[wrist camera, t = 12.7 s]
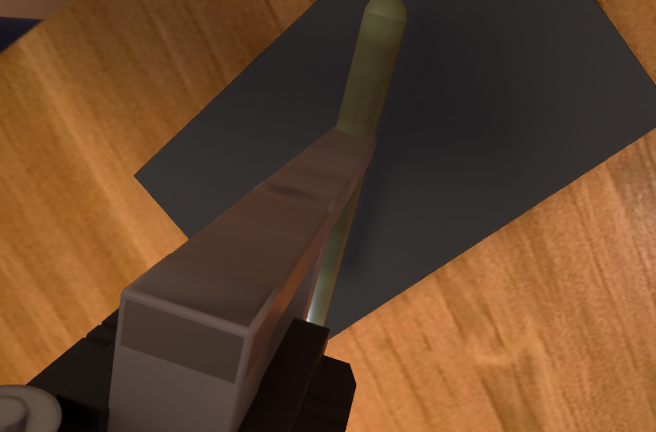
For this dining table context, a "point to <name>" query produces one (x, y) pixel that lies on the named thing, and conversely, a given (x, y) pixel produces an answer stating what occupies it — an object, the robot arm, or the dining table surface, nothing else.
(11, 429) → the robot arm
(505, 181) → the mat
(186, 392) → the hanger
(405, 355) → the dining table surface
